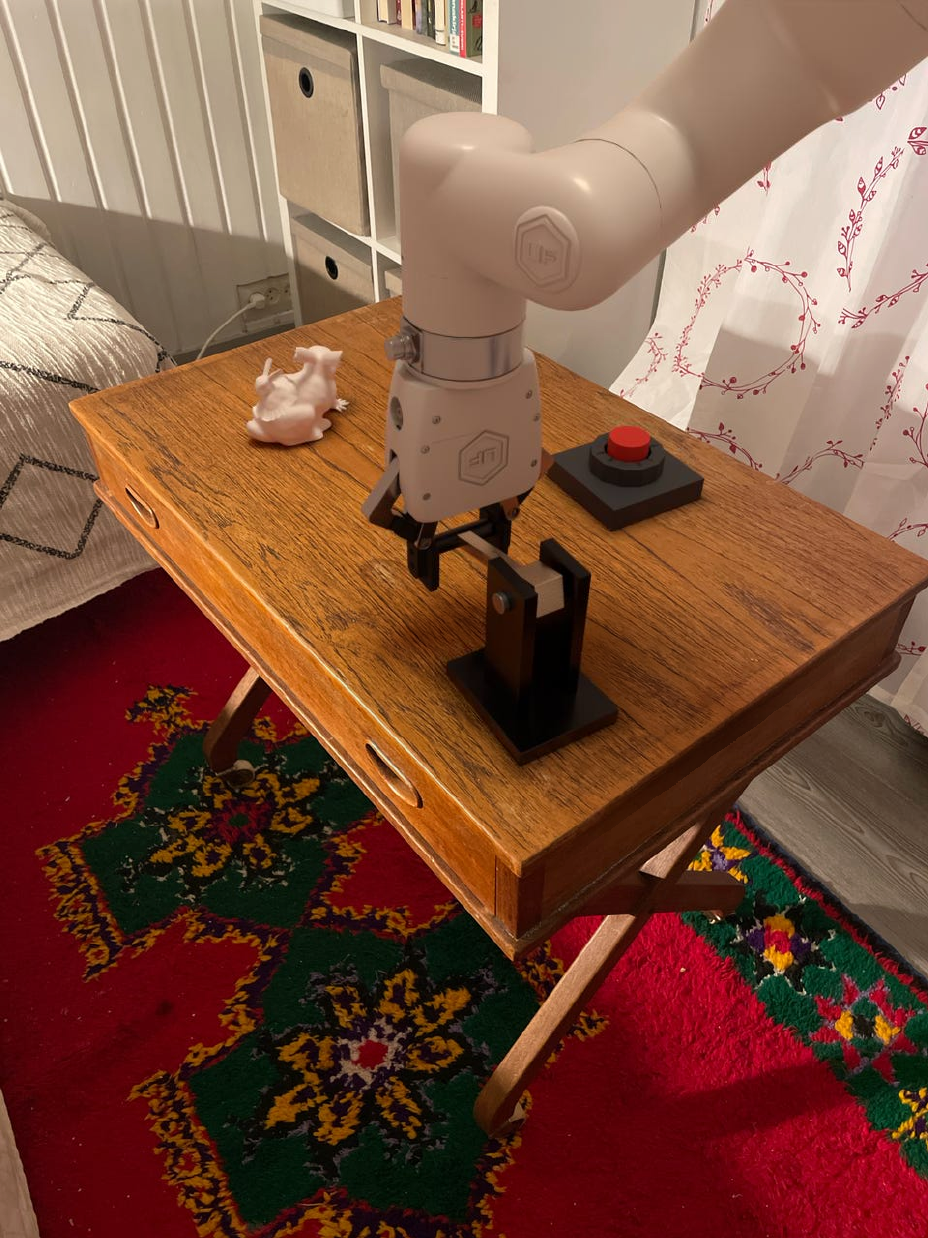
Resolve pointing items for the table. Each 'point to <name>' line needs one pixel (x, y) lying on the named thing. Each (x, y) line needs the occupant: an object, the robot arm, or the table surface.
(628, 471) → the control block
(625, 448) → the button
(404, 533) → the robot arm
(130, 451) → the table surface
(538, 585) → the lever
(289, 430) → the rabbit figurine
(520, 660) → the switch bracket
